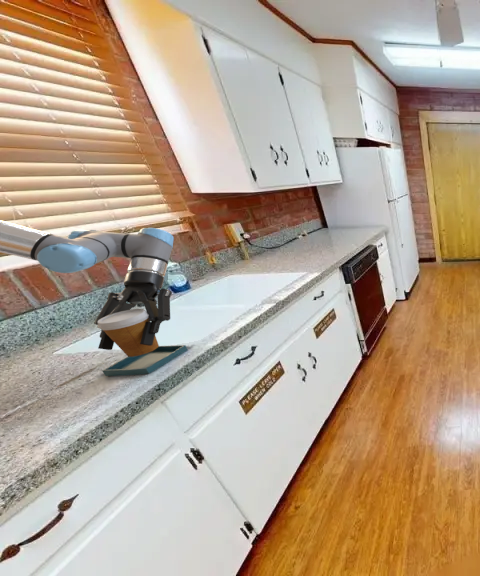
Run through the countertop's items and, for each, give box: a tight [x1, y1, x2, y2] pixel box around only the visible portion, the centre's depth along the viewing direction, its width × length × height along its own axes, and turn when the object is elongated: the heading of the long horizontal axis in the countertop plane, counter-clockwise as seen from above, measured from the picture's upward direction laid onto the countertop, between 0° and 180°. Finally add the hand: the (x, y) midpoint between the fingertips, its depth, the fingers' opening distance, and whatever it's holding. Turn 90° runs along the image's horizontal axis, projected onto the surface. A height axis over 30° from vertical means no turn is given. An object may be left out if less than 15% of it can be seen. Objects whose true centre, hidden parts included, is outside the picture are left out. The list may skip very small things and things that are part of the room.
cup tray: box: [101, 344, 189, 377], centre depth 89 cm, size 12×12×2 cm
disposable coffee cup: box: [96, 308, 160, 357], centre depth 86 cm, size 10×10×12 cm
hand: (125, 346), depth 84 cm, fingers closed on disposable coffee cup, 9 cm apart
